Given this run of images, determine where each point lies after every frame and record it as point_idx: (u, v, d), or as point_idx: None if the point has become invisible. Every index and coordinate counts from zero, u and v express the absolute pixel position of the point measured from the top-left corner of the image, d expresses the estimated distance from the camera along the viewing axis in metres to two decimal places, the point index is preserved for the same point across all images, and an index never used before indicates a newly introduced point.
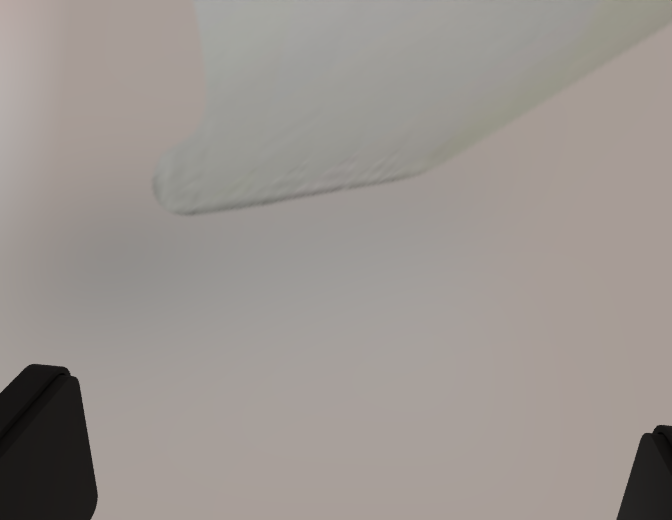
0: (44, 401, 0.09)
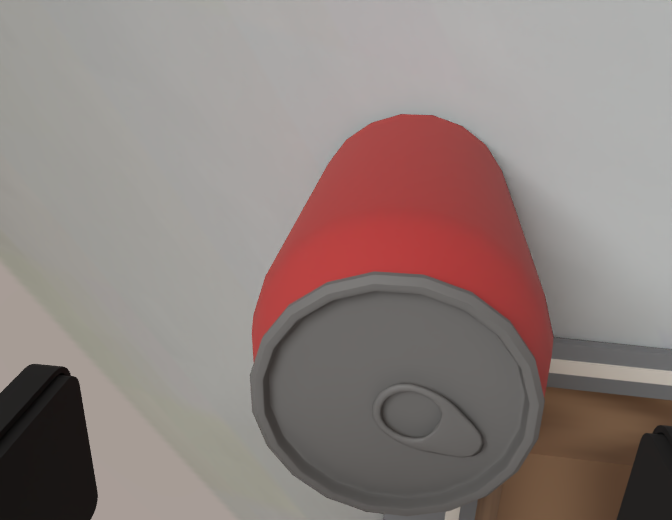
0: (44, 401, 0.09)
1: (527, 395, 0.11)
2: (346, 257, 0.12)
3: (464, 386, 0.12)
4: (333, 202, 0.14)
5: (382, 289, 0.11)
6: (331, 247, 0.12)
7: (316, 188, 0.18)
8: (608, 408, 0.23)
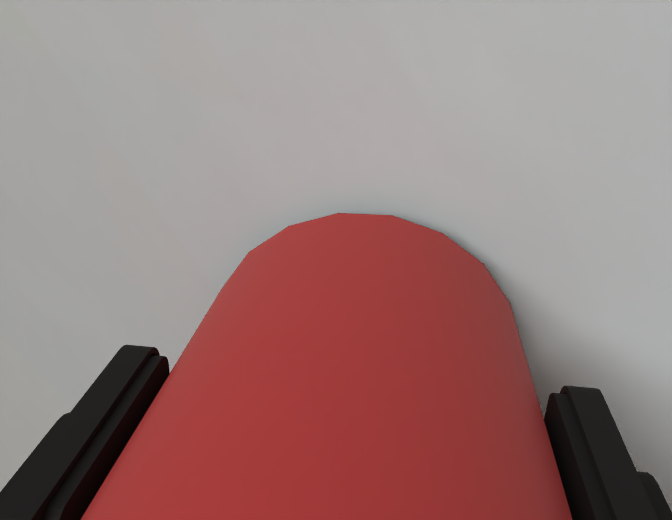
0: (143, 379, 0.10)
1: None
2: None
3: None
4: None
5: None
6: None
7: (165, 383, 0.09)
8: None
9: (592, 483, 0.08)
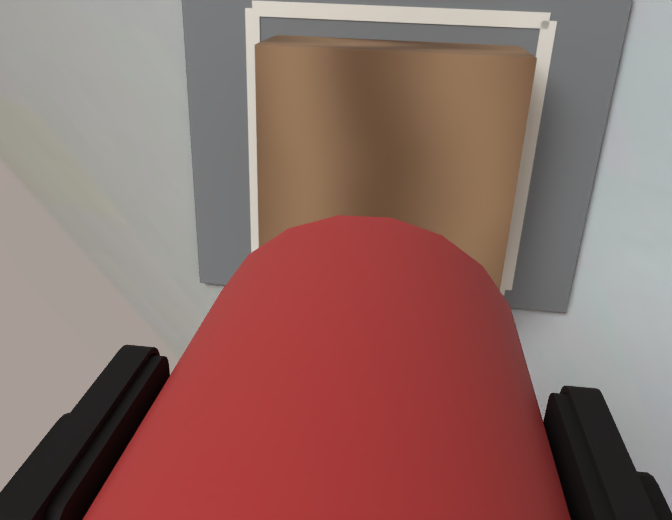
0: (143, 379, 0.10)
1: None
2: None
3: None
4: None
5: None
6: None
7: (165, 386, 0.10)
8: (368, 41, 0.25)
9: (592, 483, 0.08)
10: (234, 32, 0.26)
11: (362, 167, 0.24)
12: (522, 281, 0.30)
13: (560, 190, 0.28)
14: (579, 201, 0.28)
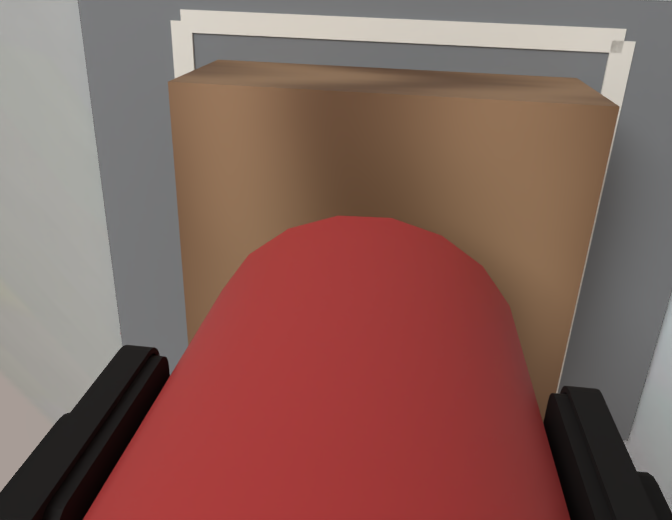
0: (143, 378, 0.10)
1: None
2: None
3: None
4: None
5: None
6: None
7: (165, 386, 0.10)
8: (351, 71, 0.17)
9: (592, 483, 0.08)
10: (156, 55, 0.18)
11: None
12: None
13: (629, 281, 0.19)
14: (655, 296, 0.19)
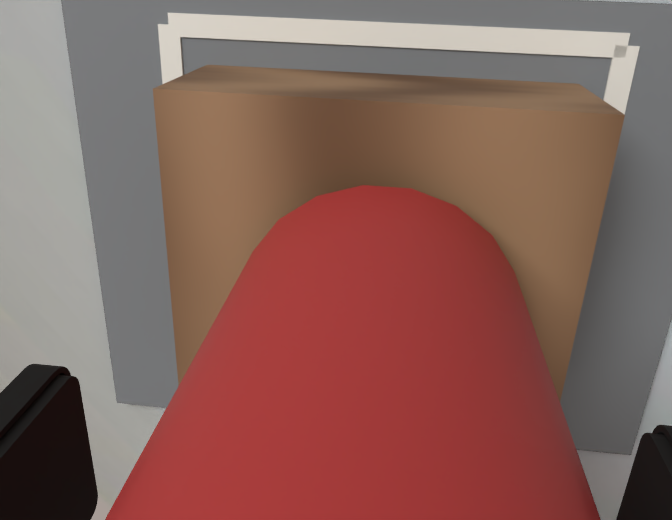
0: (44, 401, 0.09)
1: None
2: None
3: None
4: (204, 451, 0.07)
5: None
6: None
7: (215, 327, 0.11)
8: (344, 77, 0.16)
9: None
10: (143, 60, 0.17)
11: None
12: (570, 413, 0.21)
13: (632, 292, 0.19)
14: (659, 308, 0.19)
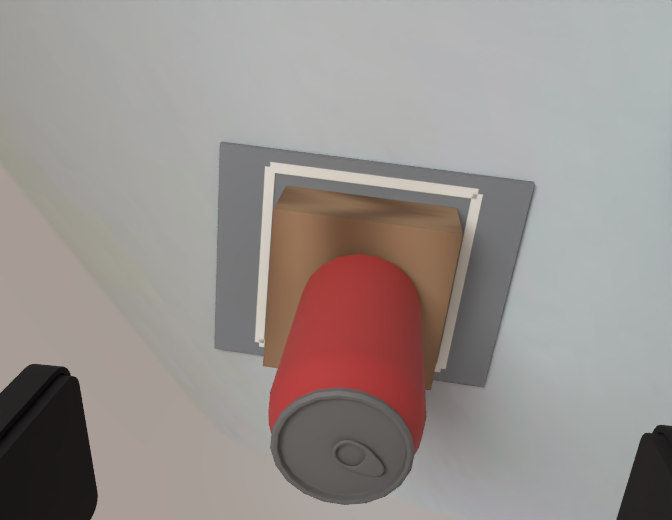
0: (44, 401, 0.09)
1: (406, 449, 0.24)
2: (325, 377, 0.24)
3: (377, 443, 0.24)
4: (318, 335, 0.26)
5: (342, 397, 0.23)
6: (318, 369, 0.24)
7: (304, 306, 0.30)
8: (351, 199, 0.36)
9: None
10: (255, 181, 0.37)
11: None
12: (453, 363, 0.41)
13: (482, 303, 0.39)
14: (495, 312, 0.39)
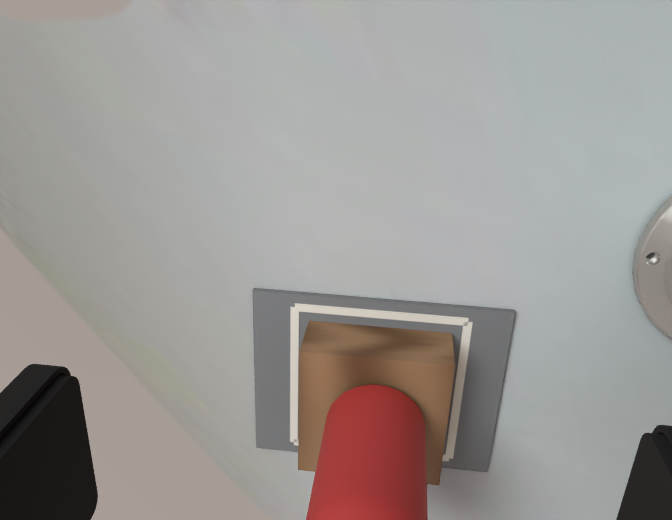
0: (44, 401, 0.09)
1: None
2: (346, 518, 0.31)
3: None
4: (340, 476, 0.33)
5: None
6: (340, 511, 0.31)
7: (328, 438, 0.38)
8: (363, 332, 0.43)
9: None
10: (283, 318, 0.44)
11: None
12: (459, 453, 0.48)
13: (480, 406, 0.46)
14: (491, 412, 0.46)
